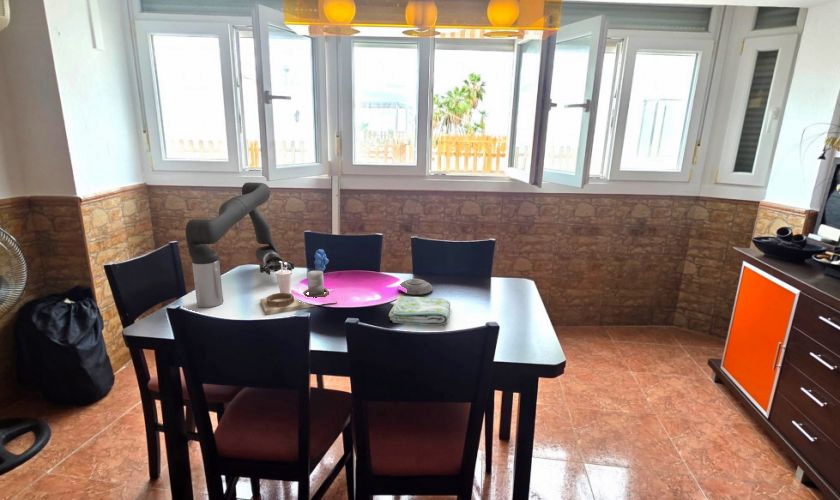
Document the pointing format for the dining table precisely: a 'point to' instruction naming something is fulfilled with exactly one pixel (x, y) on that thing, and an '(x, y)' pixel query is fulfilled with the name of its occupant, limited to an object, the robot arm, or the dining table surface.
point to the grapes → (320, 260)
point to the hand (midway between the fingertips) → (279, 271)
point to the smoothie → (284, 280)
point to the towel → (420, 311)
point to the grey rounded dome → (417, 286)
